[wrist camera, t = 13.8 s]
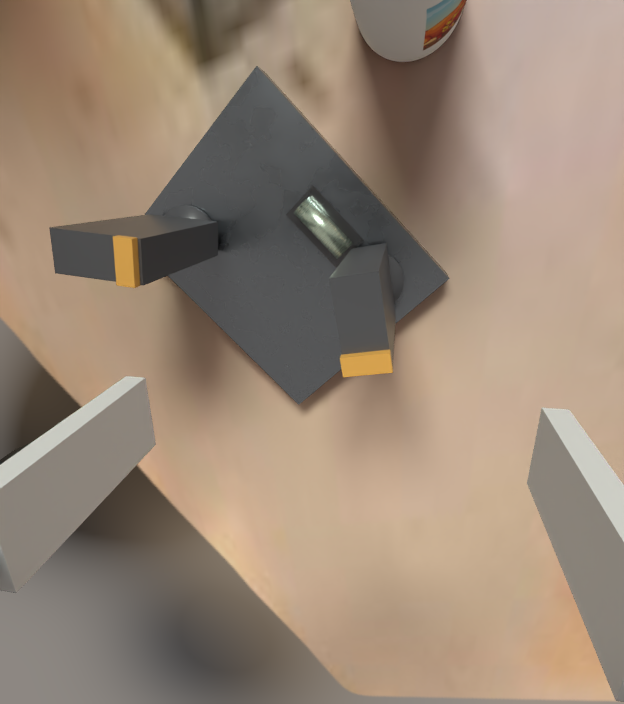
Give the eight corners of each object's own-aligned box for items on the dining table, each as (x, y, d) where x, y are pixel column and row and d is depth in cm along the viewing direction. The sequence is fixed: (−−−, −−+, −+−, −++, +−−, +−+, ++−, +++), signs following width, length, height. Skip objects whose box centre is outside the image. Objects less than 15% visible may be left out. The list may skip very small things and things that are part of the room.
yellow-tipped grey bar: (159, 257, 41) (50, 290, 28) (157, 201, 39) (39, 210, 26) (222, 265, 40) (138, 303, 27) (222, 208, 38) (133, 222, 25)
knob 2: (340, 249, 37) (309, 283, 25) (399, 239, 36) (397, 270, 24) (352, 317, 39) (327, 381, 27) (407, 310, 38) (409, 374, 26)
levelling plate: (140, 234, 42) (116, 238, 39) (264, 71, 35) (249, 59, 32) (303, 395, 45) (294, 413, 42) (447, 273, 38) (451, 283, 35)
